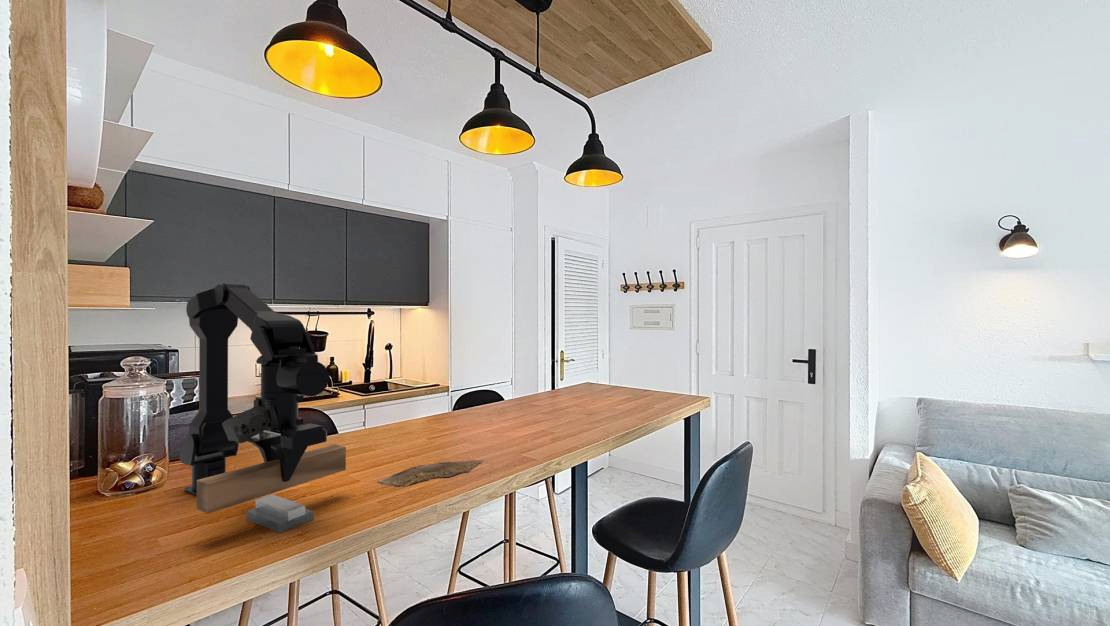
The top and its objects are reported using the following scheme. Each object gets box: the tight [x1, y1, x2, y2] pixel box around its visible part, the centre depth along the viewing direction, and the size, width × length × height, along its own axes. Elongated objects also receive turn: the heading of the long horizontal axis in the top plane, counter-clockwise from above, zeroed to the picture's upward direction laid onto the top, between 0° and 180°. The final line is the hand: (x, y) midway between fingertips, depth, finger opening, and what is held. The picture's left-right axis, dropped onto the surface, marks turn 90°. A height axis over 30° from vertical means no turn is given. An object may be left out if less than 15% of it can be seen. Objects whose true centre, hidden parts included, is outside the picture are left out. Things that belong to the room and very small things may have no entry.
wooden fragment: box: [376, 459, 484, 488], centre depth 112 cm, size 26×11×1 cm, turn 126°
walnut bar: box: [196, 444, 347, 514], centre depth 86 cm, size 4×24×4 cm, turn 149°
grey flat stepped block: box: [246, 493, 314, 534], centre depth 86 cm, size 10×6×3 cm, turn 60°
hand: (279, 479), depth 86 cm, fingers closed on walnut bar, 3 cm apart
